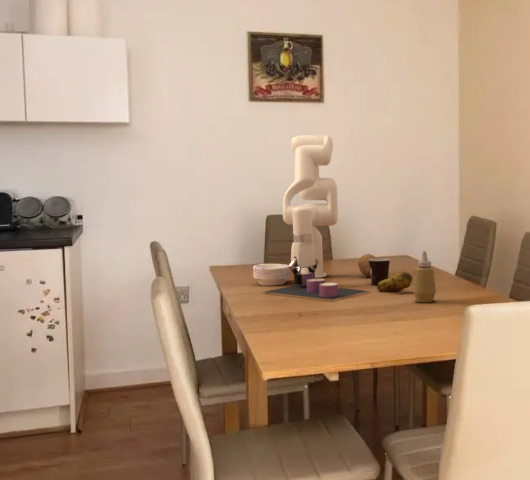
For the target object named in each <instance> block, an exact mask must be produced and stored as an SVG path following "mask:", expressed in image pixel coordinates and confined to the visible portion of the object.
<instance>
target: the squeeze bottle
mask: <svg viewBox="0 0 530 480" xmlns="http://www.w3.org/2000/svg"><path fill="white" fill-rule="evenodd" d="M436 292H437V289H436V281H435V270H434V268H433V267H432V261H431V260H429V259H428V254H427V251H426V250H423V251H422V253H421V257H420V260H418V261H417V267H416V268H415V270H414V282H413V294H414V298H415V301H416V302H418V303H423V304H425V303H432V302H434V298H435V295H436Z"/></svg>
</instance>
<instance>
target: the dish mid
mask: <svg viewBox="0 0 530 480" xmlns="http://www.w3.org/2000/svg"><path fill="white" fill-rule="evenodd" d="M321 283H326V279H325V278H315V279H308V280H306V285H307V292H309V293H319V284H321Z"/></svg>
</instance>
